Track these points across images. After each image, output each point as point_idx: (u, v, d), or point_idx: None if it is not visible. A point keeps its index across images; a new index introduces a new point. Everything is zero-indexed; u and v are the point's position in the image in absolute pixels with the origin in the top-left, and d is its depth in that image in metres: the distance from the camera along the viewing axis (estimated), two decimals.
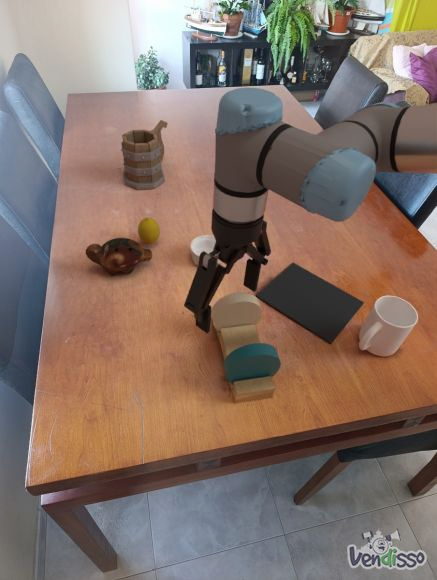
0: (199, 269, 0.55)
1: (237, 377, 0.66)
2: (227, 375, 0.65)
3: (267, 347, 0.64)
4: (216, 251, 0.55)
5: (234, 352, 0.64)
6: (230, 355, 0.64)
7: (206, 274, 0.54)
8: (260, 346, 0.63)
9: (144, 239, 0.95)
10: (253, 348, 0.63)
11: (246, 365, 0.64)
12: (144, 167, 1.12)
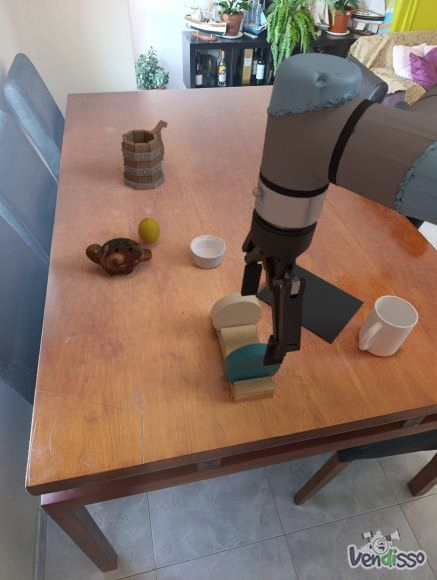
0: (287, 301, 0.43)
1: (237, 377, 0.66)
2: (227, 375, 0.65)
3: None
4: (290, 271, 0.44)
5: (234, 352, 0.64)
6: (230, 355, 0.64)
7: (299, 300, 0.44)
8: (260, 346, 0.63)
9: (144, 239, 0.95)
10: (253, 348, 0.63)
11: (246, 365, 0.64)
12: (144, 167, 1.12)
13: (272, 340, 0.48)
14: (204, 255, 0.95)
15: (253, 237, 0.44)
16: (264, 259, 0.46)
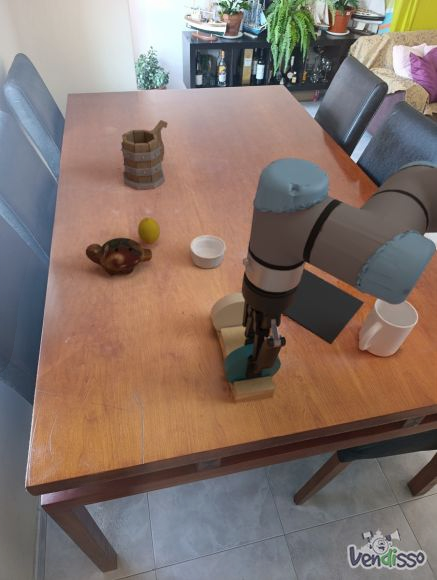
0: (267, 350, 0.53)
1: (237, 377, 0.66)
2: (227, 375, 0.65)
3: None
4: (275, 329, 0.52)
5: (234, 352, 0.64)
6: (230, 355, 0.64)
7: (277, 348, 0.53)
8: None
9: (144, 239, 0.95)
10: None
11: (246, 365, 0.64)
12: (144, 167, 1.12)
13: (251, 360, 0.60)
14: (204, 255, 0.95)
15: (244, 295, 0.51)
16: (254, 312, 0.53)
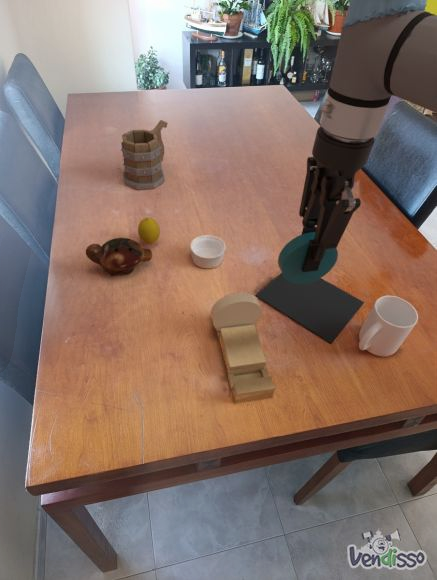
0: (339, 216, 0.52)
1: (293, 271, 0.65)
2: (284, 267, 0.63)
3: None
4: (348, 190, 0.50)
5: (292, 241, 0.62)
6: (287, 245, 0.62)
7: (348, 215, 0.52)
8: None
9: (144, 239, 0.95)
10: (312, 235, 0.61)
11: (304, 255, 0.62)
12: (144, 167, 1.12)
13: (313, 242, 0.59)
14: (204, 255, 0.95)
15: (317, 155, 0.50)
16: (324, 178, 0.52)
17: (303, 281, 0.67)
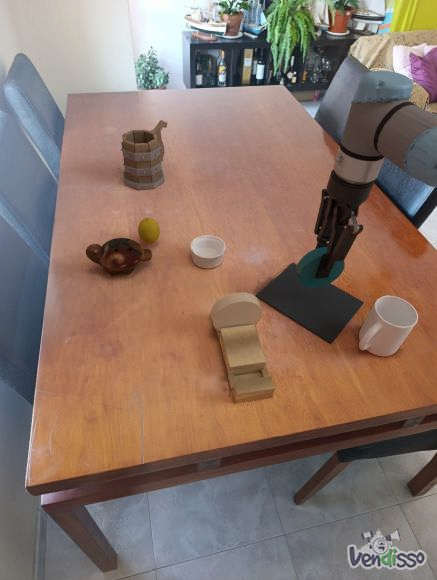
0: (346, 237, 0.67)
1: (308, 277, 0.80)
2: (301, 274, 0.79)
3: None
4: (354, 218, 0.66)
5: (308, 254, 0.78)
6: (304, 257, 0.78)
7: (354, 237, 0.68)
8: None
9: (144, 239, 0.95)
10: (324, 249, 0.77)
11: (317, 265, 0.78)
12: (144, 167, 1.12)
13: (325, 255, 0.74)
14: (204, 255, 0.95)
15: (330, 191, 0.65)
16: (336, 208, 0.68)
17: (316, 285, 0.83)
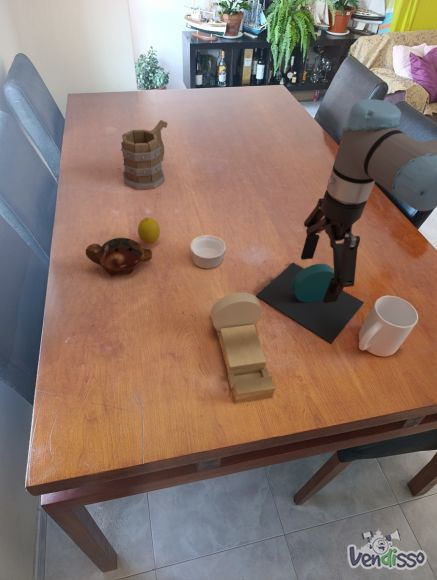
0: (347, 251, 0.68)
1: (303, 293, 0.84)
2: (296, 290, 0.83)
3: (328, 267, 0.81)
4: (348, 232, 0.68)
5: (302, 271, 0.81)
6: (299, 274, 0.82)
7: (354, 251, 0.68)
8: (323, 265, 0.81)
9: (144, 239, 0.95)
10: (318, 266, 0.80)
11: (311, 281, 0.81)
12: (144, 167, 1.12)
13: (334, 280, 0.72)
14: (204, 255, 0.95)
15: (324, 211, 0.68)
16: (329, 226, 0.71)
17: (311, 300, 0.86)
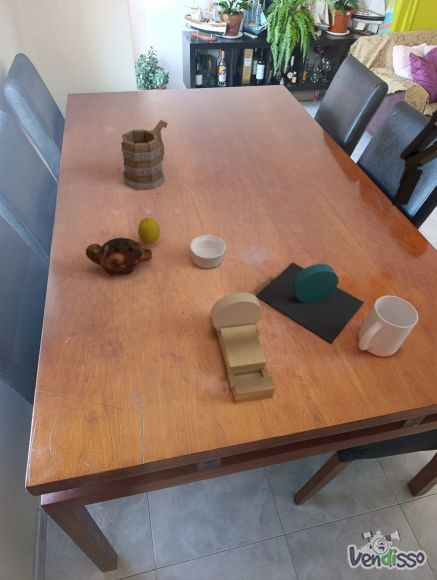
0: None
1: (303, 293, 0.84)
2: (296, 290, 0.83)
3: (329, 267, 0.81)
4: None
5: (303, 271, 0.81)
6: (299, 273, 0.82)
7: None
8: (323, 265, 0.81)
9: (144, 239, 0.95)
10: (318, 266, 0.80)
11: (312, 281, 0.81)
12: (144, 167, 1.12)
13: None
14: (204, 255, 0.95)
15: None
16: None
17: (311, 300, 0.86)
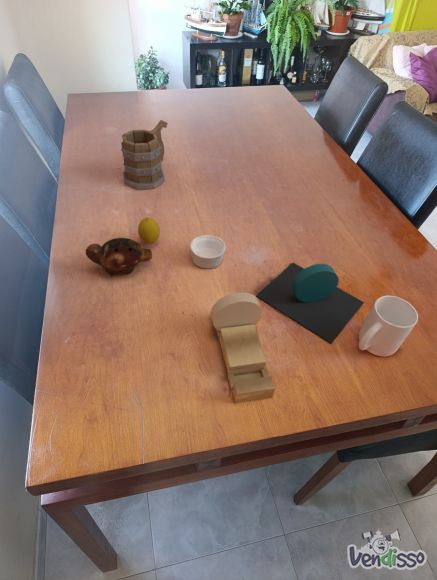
0: None
1: (304, 292, 0.84)
2: (297, 290, 0.82)
3: (329, 267, 0.81)
4: None
5: (303, 270, 0.81)
6: (300, 273, 0.82)
7: None
8: (324, 265, 0.81)
9: (144, 239, 0.95)
10: (319, 266, 0.80)
11: (312, 281, 0.81)
12: (144, 167, 1.12)
13: None
14: (204, 255, 0.95)
15: None
16: None
17: (311, 300, 0.86)
